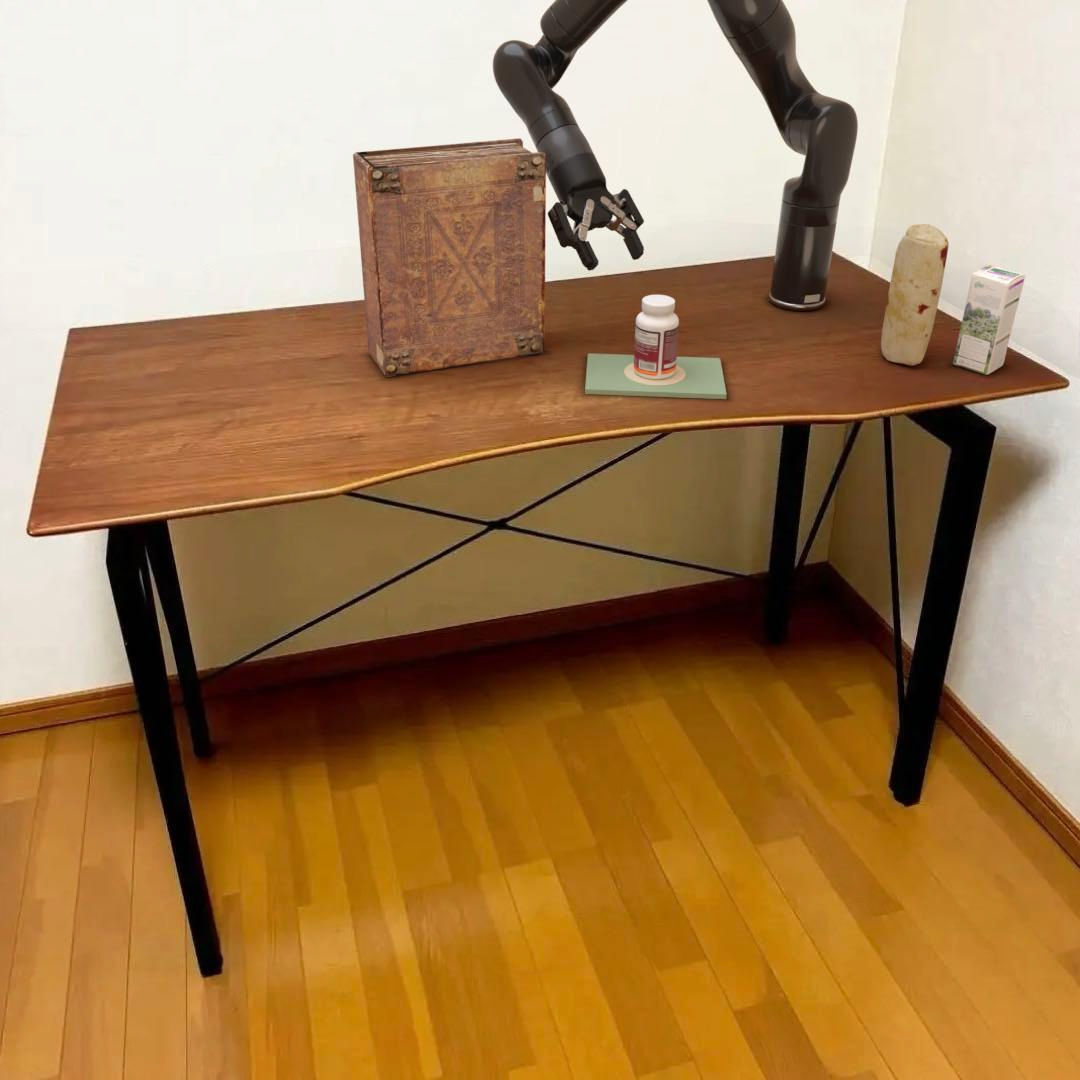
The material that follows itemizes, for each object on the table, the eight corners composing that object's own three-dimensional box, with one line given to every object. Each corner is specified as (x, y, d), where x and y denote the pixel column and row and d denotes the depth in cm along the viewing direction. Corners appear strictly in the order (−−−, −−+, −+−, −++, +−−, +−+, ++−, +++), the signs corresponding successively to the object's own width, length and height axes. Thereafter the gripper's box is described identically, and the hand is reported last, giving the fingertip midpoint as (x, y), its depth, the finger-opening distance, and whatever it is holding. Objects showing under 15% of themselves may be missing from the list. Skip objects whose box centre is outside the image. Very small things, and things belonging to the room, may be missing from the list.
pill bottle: (668, 362, 167) (674, 291, 161) (680, 379, 162) (686, 306, 156) (628, 365, 166) (632, 293, 160) (639, 382, 160) (643, 308, 155)
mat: (587, 358, 170) (587, 352, 169) (719, 362, 169) (720, 357, 168) (584, 394, 159) (585, 388, 158) (726, 399, 158) (726, 393, 157)
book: (522, 332, 178) (523, 137, 162) (544, 354, 171) (548, 152, 155) (367, 355, 170) (352, 151, 154) (384, 378, 163) (370, 167, 147)
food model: (936, 369, 168) (964, 237, 157) (894, 371, 167) (920, 239, 156) (907, 344, 176) (933, 217, 165) (867, 346, 175) (890, 219, 164)
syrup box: (1004, 365, 169) (1027, 272, 161) (986, 376, 166) (1009, 282, 158) (968, 354, 173) (990, 263, 165) (950, 365, 169) (971, 272, 161)
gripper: (542, 157, 158) (590, 258, 156) (620, 144, 165) (666, 240, 163) (521, 187, 164) (566, 284, 163) (596, 173, 171) (641, 266, 170)
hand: (616, 262), depth 163 cm, fingers open, 8 cm apart
